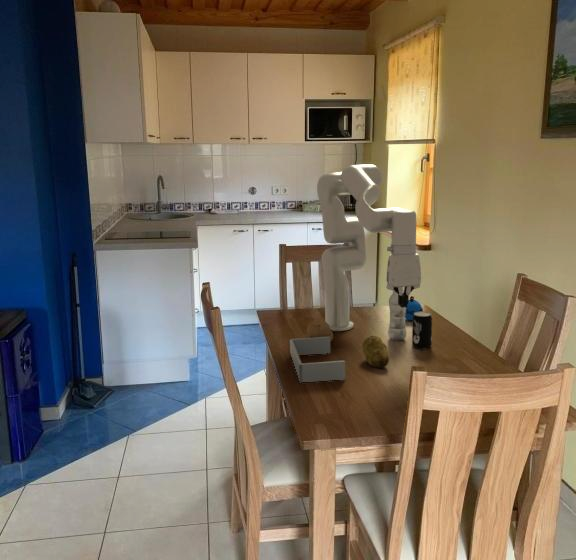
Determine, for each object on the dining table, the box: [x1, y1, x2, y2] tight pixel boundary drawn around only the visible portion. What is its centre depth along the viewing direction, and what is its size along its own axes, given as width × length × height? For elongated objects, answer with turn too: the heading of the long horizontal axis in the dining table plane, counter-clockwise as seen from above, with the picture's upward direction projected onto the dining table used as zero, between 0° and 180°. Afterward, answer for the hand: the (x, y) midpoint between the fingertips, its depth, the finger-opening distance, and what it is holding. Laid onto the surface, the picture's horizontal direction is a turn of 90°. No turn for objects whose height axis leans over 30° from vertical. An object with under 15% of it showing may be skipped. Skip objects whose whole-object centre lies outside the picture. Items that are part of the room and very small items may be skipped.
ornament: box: [405, 295, 424, 322], centre depth 225 cm, size 9×9×10 cm
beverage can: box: [411, 310, 433, 350], centre depth 194 cm, size 7×7×12 cm
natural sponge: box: [306, 318, 334, 342], centre depth 199 cm, size 9×9×10 cm
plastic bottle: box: [387, 287, 407, 341], centre depth 202 cm, size 6×7×20 cm
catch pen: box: [289, 336, 346, 383], centre depth 179 cm, size 24×14×6 cm, turn 7°
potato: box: [361, 335, 390, 369], centre depth 181 cm, size 8×13×8 cm, turn 173°
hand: (403, 306), depth 179 cm, fingers closed
